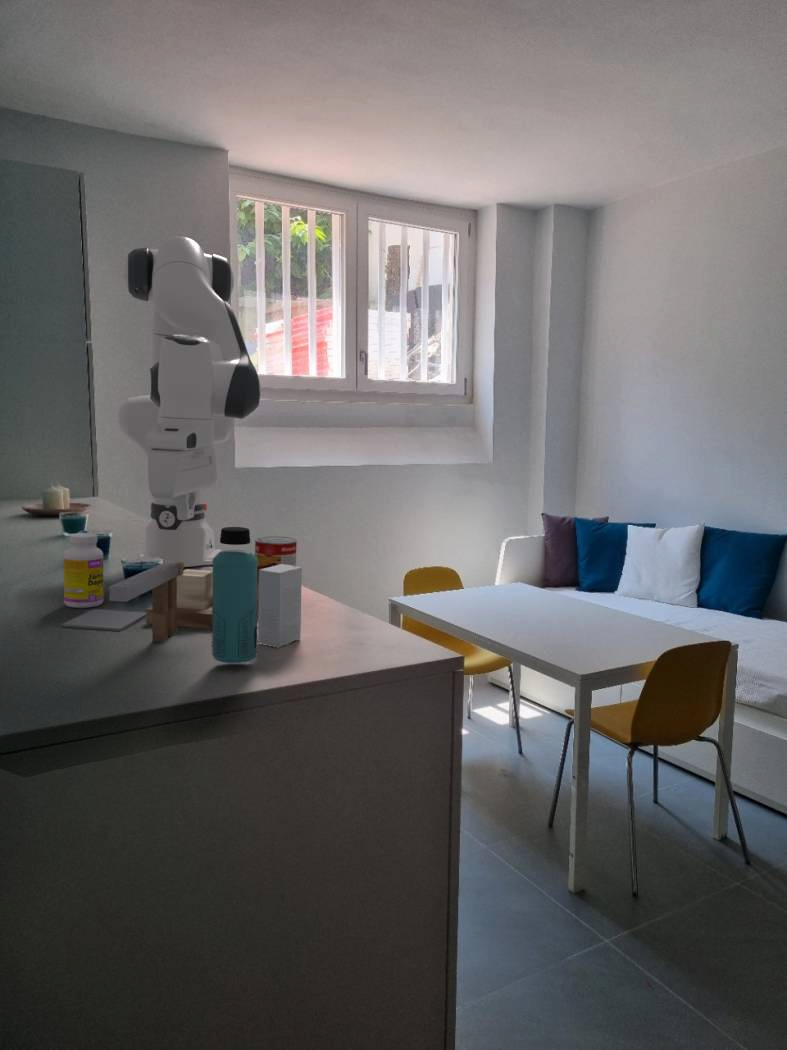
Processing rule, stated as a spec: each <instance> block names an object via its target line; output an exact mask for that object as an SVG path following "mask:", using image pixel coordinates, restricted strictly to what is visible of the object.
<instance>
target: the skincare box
mask: <svg viewBox="0 0 787 1050" xmlns="http://www.w3.org/2000/svg"><path fill="white" fill-rule="evenodd" d="M302 572H303V571H302V567H301V566H297V565H296V566H291V565H285V564H279V565H276V566H272V567H268V568H264V569H261V570H259V603H258V605H259V611H258V612H259V613H258V616H259V617H258V616H257V617H258V618H257V620H258V621H257V627H258V628H257V639H258V643H257V644H259V643H262V644H266V645H265V646H267V645H271V646H275V647H274V648H276V647H280V648H282V647H284V646H283V645H285V646H287V645H289V644H291V643H294V642H296V641H298V640H301V633H302V632H301V629H302V628H301V626H302V624H301V623H302ZM295 640H296V641H295ZM293 641H294V642H293ZM288 643H289V644H288ZM262 644H261V645H262ZM286 644H287V645H286ZM271 646H270V647H271ZM281 646H282V647H281Z"/></svg>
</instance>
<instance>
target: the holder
mask: <svg viewBox="0 0 787 1050" xmlns="http://www.w3.org/2000/svg"><path fill="white" fill-rule="evenodd" d="M151 590H152V592H151V594H152V596H151V597H152V599H151V600H152V603H151V604H152V606H149V607H147V608H146V609H145V611H146V612H145V613H146V617H145V622H146V623H145V624H146V625H152V627H151V628H152V631H151V633H152V642H153V643H155V642H156V643H163V642H165V641H167V640H168V639H169V638H168V637H172V636H174V635H175V634H177V632H178V631H177V628H178V627H182V628H194V629H195V628H196V629H208V630H209V629H210V630H212V619H211V618H212V616H211V615H212V608H211V607H212V606H211V607H210V608H208V609H207V610H203V609H189V608H177V577H175V578H173V579H171V580H169V581H167V582H165V583H163V584H161V585H159V586H157V587H155V588H153V589H151Z"/></svg>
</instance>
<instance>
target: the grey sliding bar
mask: <svg viewBox="0 0 787 1050" xmlns="http://www.w3.org/2000/svg"><path fill="white" fill-rule="evenodd" d="M183 571H184V567H183V562H172V561H165V562H163V563H162V564H160V565H157V566H153V567H151V568H148V569H146V570H145V571H141V572H139V573H137V574H135V575H132V576H131V577H130V576H129V577H127V578H126V579H123V580H121V581H118V582H116V583H114V584H112V585H109V601H110V602H111V601H112V602H124V603H127V602H128V601H131V600H134V599H136V598H138V597H139V596H141V595H142V594H143V595H144V593H147V592H149V591H151V590H152V589H153V588H155V587H157V586H159V585H161V584H163V583H165V582H167V581H169V580H171V579H173V578H175V577H177V576H181V575H183Z"/></svg>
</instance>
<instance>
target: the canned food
mask: <svg viewBox="0 0 787 1050" xmlns="http://www.w3.org/2000/svg"><path fill="white" fill-rule="evenodd" d="M254 543H255V544H254V556H255V557H256V558H257V559H258V564H257V589H258V590H257V591H258V592H257V593H258V594H259V570H261V569H264V568H268V567H272V566H276V565H279V564H285V565H291V566H297V544H298V542H297V539H296V538H295V537H294V538H293V537H289V536H261V537H256V538H255V542H254ZM258 599H259V595H258ZM257 604H259V600H258V603H257Z"/></svg>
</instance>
